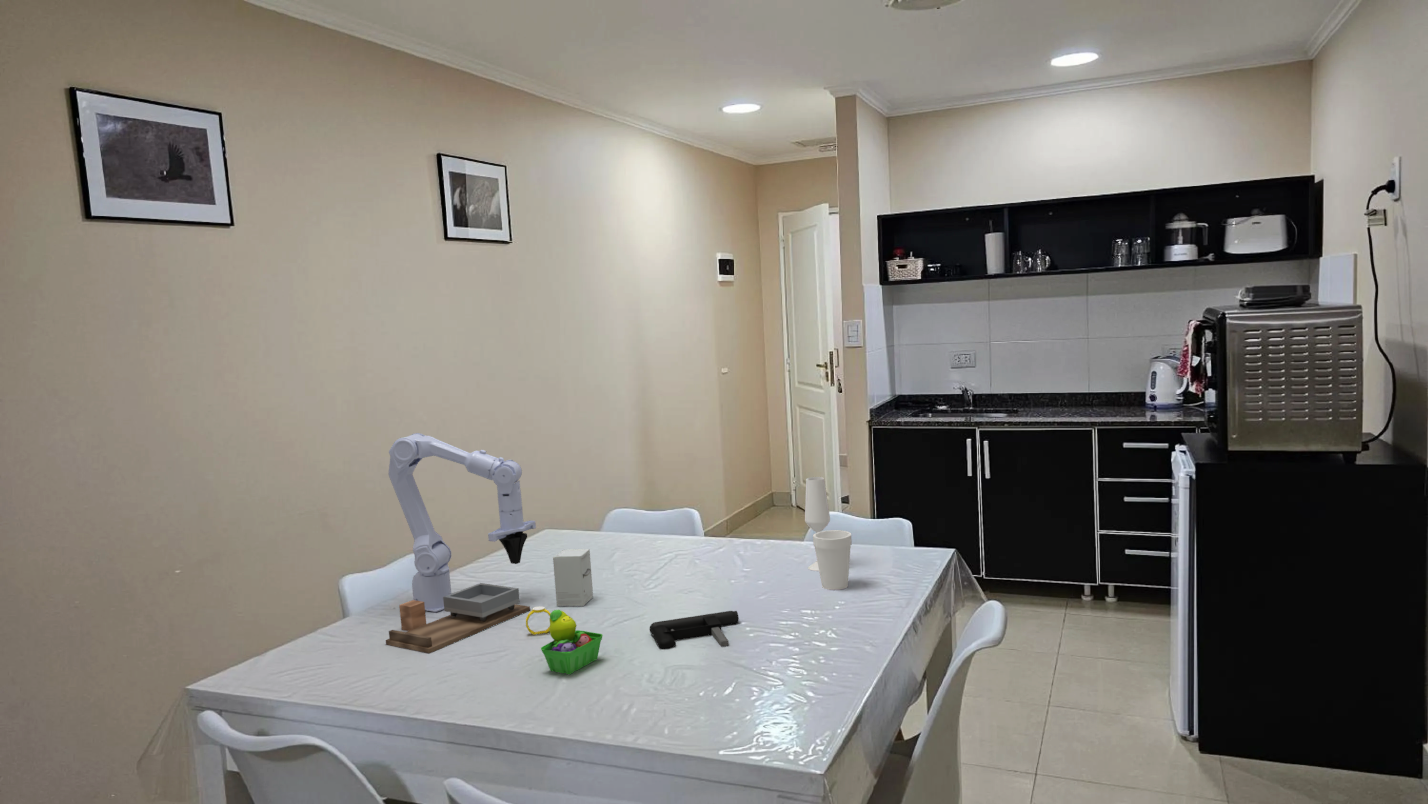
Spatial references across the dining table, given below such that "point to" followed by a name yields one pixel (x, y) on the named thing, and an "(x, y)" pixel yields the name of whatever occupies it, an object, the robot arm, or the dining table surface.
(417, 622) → the part block
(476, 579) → the dining table surface
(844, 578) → the foam cup
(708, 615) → the door handle
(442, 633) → the board
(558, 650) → the fruit basket
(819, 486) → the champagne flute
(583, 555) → the supplement box
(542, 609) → the watch
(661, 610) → the dining table surface
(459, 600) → the tray
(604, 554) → the dining table surface
